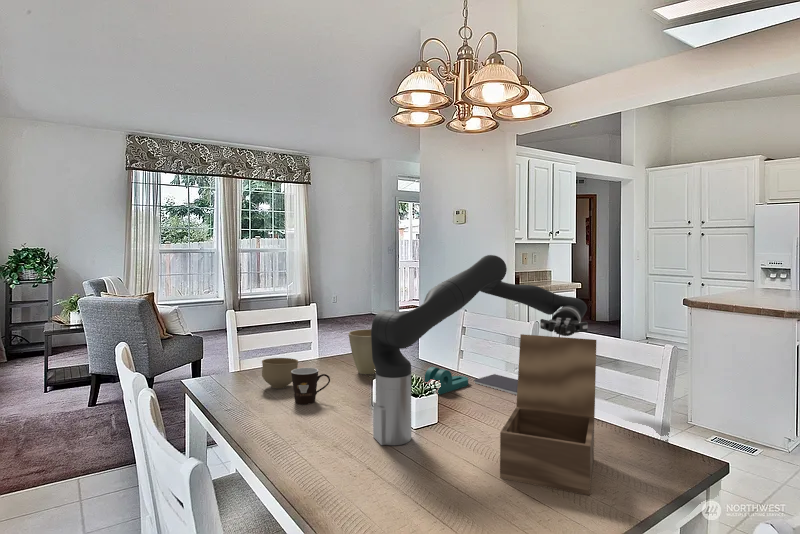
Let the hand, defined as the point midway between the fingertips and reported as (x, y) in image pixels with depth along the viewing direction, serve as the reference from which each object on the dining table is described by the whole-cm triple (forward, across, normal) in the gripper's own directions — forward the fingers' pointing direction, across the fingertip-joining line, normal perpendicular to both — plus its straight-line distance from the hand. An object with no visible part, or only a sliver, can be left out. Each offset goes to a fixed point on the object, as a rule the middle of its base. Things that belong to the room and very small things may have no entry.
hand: (560, 330), depth 125 cm
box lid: (+9, 0, +9) cm, 13 cm away
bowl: (-6, -95, +28) cm, 99 cm away
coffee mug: (+4, -76, +28) cm, 81 cm away
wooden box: (+20, 0, +28) cm, 34 cm away
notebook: (-40, -22, +29) cm, 54 cm away
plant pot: (-36, -76, +28) cm, 89 cm away
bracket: (-30, -40, +28) cm, 58 cm away
